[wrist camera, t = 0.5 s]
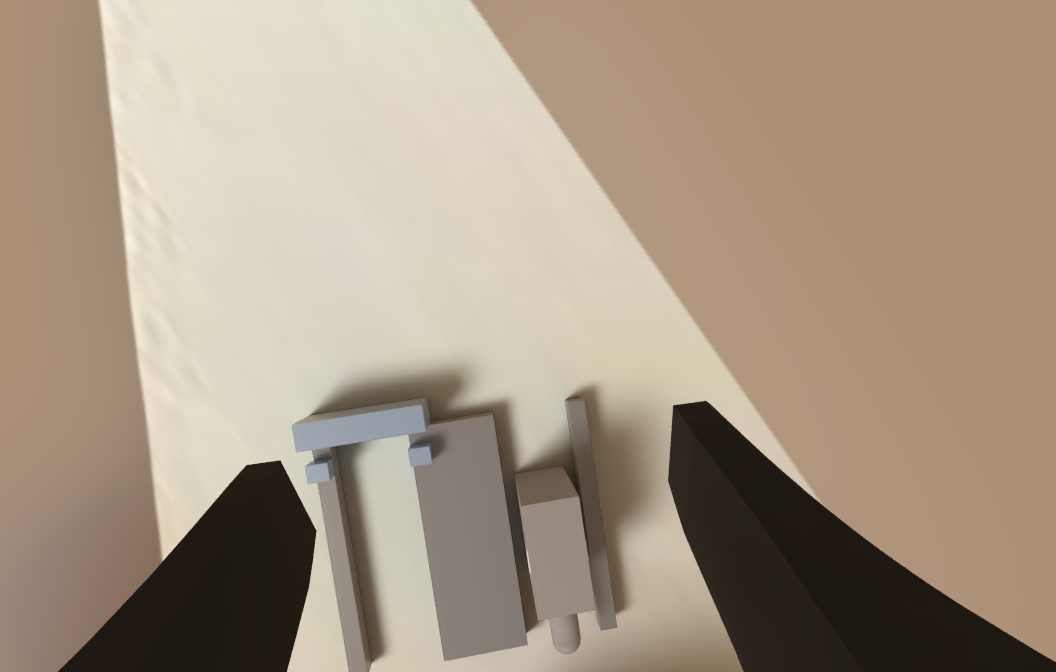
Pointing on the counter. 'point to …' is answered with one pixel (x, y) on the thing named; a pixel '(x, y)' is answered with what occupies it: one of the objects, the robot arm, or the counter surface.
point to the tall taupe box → (555, 552)
